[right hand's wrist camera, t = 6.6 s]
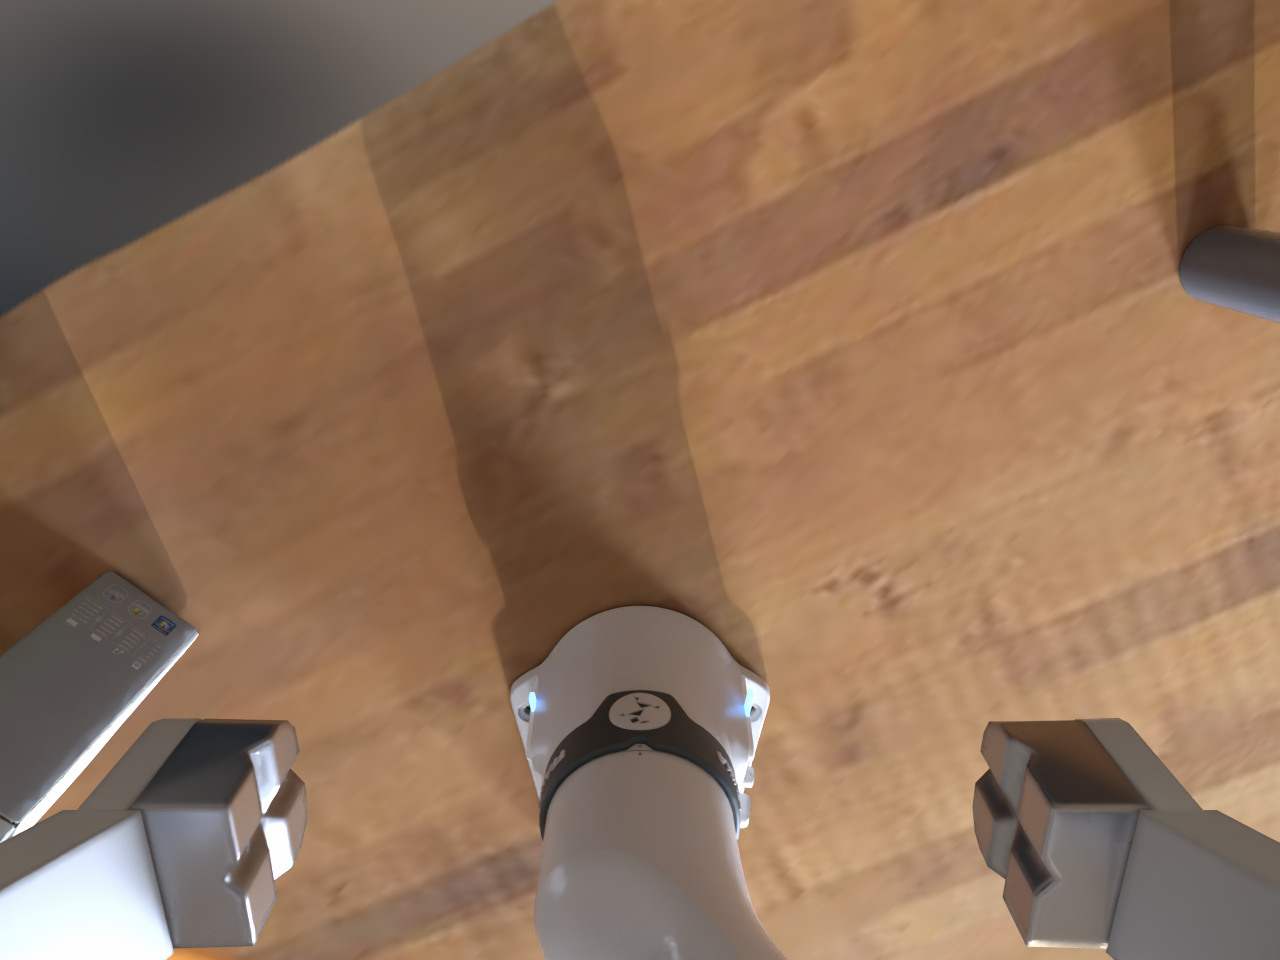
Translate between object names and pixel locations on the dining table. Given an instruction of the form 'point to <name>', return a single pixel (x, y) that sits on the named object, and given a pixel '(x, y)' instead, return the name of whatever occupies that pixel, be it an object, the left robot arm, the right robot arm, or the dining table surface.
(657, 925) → the right robot arm
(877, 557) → the dining table surface
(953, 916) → the dining table surface
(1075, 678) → the dining table surface
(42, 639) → the hard drive box
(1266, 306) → the dark grey cylinder
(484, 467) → the dining table surface
